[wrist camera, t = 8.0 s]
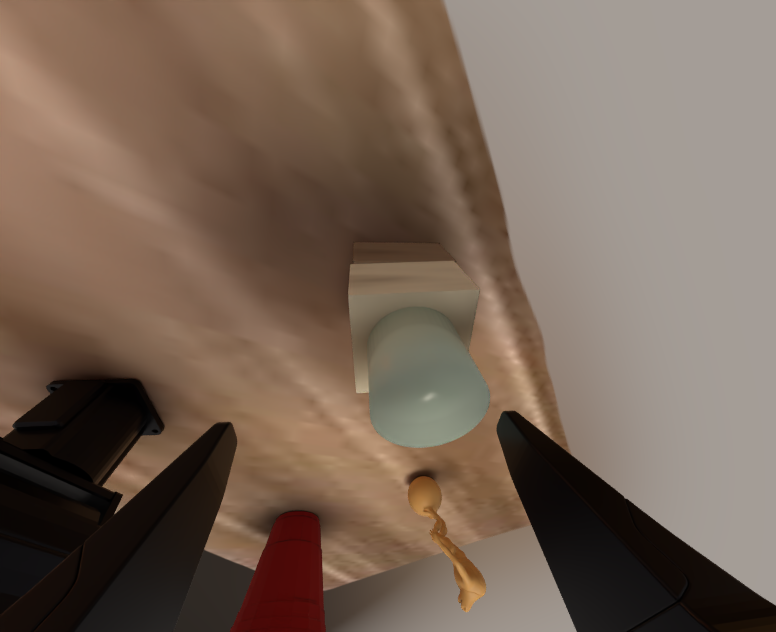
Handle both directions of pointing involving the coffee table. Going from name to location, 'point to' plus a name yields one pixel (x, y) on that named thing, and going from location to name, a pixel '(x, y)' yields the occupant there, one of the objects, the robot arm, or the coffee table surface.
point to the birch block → (406, 300)
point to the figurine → (446, 540)
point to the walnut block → (398, 252)
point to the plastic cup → (287, 580)
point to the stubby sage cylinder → (422, 380)
